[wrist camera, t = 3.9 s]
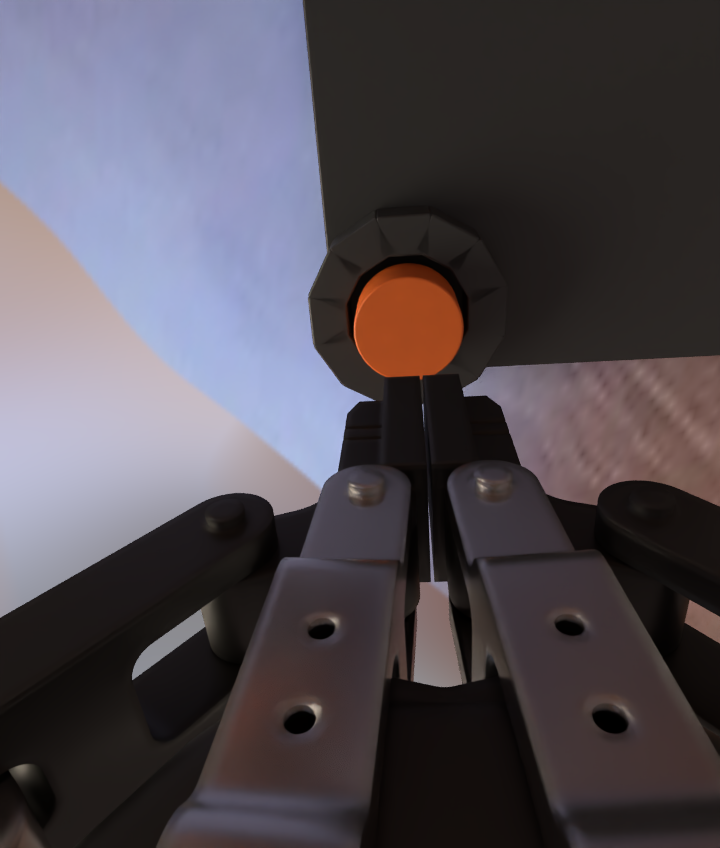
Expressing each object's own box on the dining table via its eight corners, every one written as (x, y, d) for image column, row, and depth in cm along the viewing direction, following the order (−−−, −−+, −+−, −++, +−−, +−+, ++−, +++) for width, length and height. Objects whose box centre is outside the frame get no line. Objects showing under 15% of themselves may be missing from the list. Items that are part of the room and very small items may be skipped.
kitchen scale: (328, 374, 23) (320, 409, 21) (286, -29, 18) (267, -53, 15) (726, 354, 22) (772, 388, 20) (819, -83, 16) (901, -119, 14)
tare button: (360, 363, 20) (357, 384, 19) (352, 266, 19) (349, 280, 17) (458, 358, 20) (463, 379, 18) (457, 259, 18) (464, 273, 17)
